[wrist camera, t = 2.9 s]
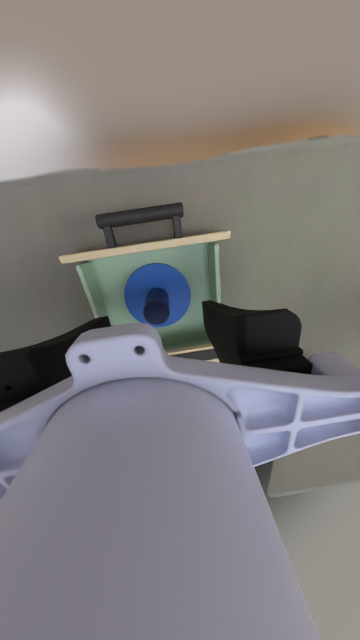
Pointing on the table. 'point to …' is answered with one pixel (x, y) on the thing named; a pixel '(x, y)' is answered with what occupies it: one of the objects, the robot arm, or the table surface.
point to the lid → (157, 295)
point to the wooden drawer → (121, 262)
